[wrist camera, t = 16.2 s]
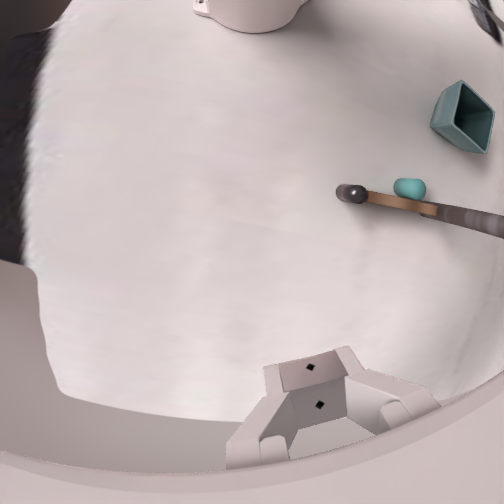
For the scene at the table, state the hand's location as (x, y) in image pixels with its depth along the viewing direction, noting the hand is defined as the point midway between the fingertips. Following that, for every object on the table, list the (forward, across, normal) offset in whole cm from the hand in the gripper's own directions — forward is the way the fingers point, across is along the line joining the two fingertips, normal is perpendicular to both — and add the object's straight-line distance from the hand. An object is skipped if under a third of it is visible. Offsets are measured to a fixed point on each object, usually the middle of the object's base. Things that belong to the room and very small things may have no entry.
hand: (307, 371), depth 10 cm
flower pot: (+34, -36, -11) cm, 51 cm away
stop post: (+34, -24, -1) cm, 42 cm away
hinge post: (+34, -14, -2) cm, 37 cm away
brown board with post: (+34, -22, +1) cm, 40 cm away
